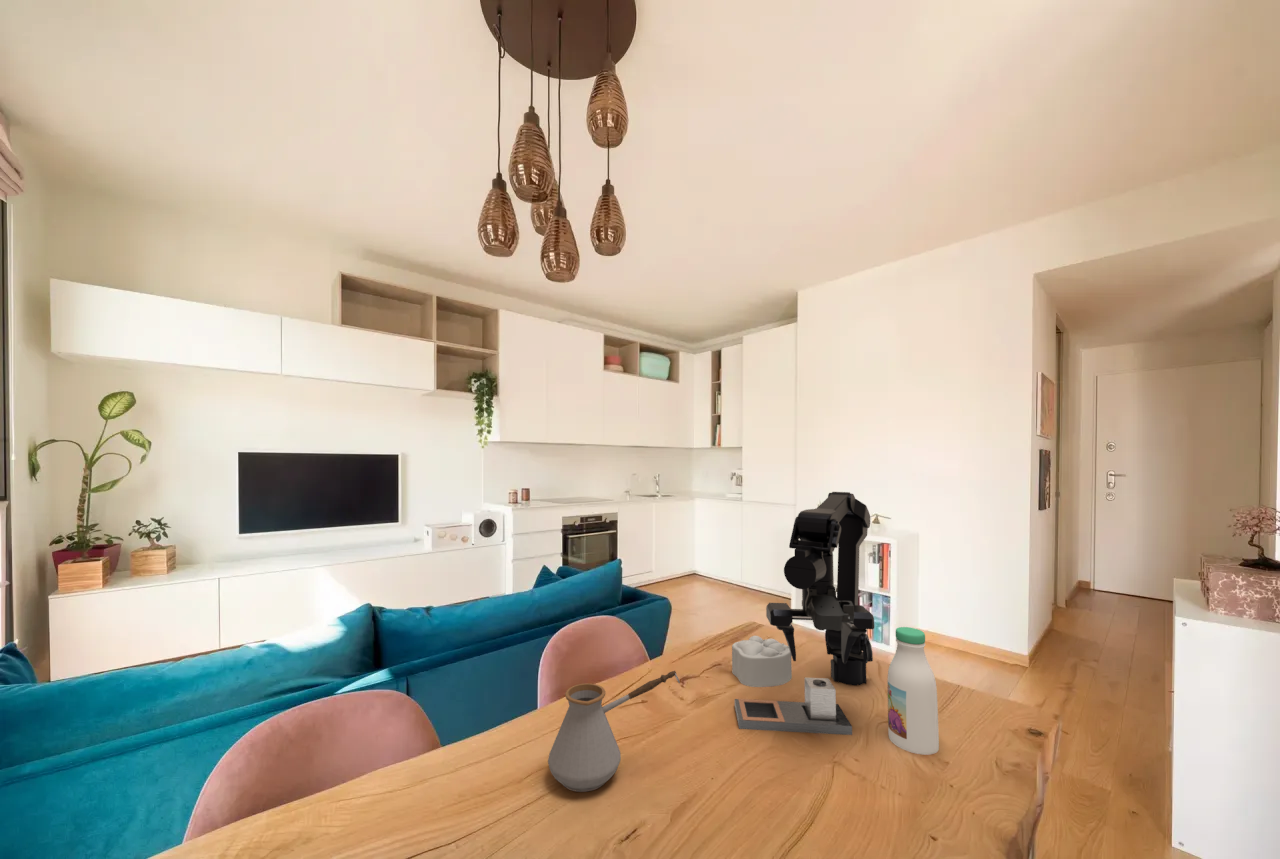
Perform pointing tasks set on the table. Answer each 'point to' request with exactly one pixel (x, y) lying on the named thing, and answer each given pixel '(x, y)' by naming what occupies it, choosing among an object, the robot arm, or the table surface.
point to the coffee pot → (589, 737)
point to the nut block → (820, 699)
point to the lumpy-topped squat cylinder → (761, 662)
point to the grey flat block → (786, 717)
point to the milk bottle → (912, 695)
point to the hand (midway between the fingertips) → (819, 661)
